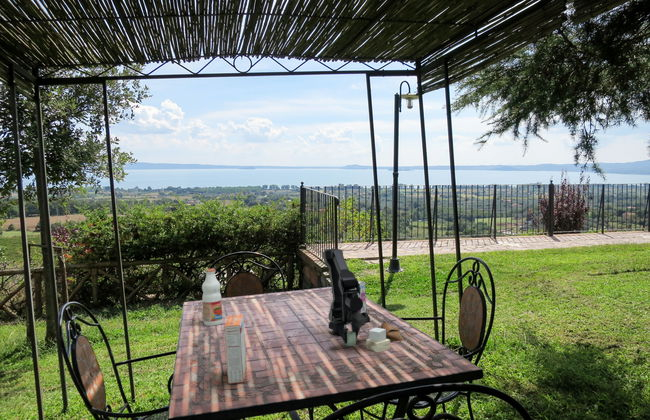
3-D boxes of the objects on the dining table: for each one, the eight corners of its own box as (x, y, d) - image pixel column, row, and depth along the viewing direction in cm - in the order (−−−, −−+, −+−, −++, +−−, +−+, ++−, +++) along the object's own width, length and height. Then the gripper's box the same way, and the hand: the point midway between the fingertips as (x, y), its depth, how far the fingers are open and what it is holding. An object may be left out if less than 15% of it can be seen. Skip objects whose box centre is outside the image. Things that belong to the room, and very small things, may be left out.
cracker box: (231, 369, 181) (228, 314, 180) (247, 368, 182) (244, 313, 181) (226, 384, 167) (223, 325, 166) (244, 383, 168) (241, 324, 167)
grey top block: (369, 340, 197) (369, 330, 197) (375, 336, 201) (375, 327, 201) (380, 342, 194) (379, 332, 194) (386, 338, 198) (385, 329, 198)
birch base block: (366, 349, 198) (365, 339, 198) (378, 345, 202) (378, 335, 202) (377, 353, 192) (377, 343, 192) (390, 349, 196) (390, 339, 196)
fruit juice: (207, 321, 249) (204, 267, 248) (224, 320, 249) (222, 267, 247) (201, 326, 240) (198, 271, 239) (219, 326, 239) (216, 270, 238)
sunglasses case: (405, 340, 205) (396, 327, 205) (391, 349, 206) (382, 336, 205) (398, 328, 223) (390, 316, 223) (385, 336, 224) (378, 324, 223)
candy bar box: (367, 312, 253) (366, 281, 252) (360, 314, 250) (359, 283, 249) (352, 308, 262) (351, 279, 261) (345, 310, 259) (344, 280, 258)
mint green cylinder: (342, 344, 204) (342, 332, 204) (351, 341, 207) (350, 330, 207) (349, 346, 201) (349, 335, 200) (358, 344, 203) (358, 332, 203)
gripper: (343, 313, 191) (345, 351, 192) (378, 304, 202) (379, 341, 203) (327, 308, 200) (328, 345, 201) (360, 300, 211) (362, 335, 212)
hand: (350, 341), depth 204 cm, fingers closed on mint green cylinder, 5 cm apart
